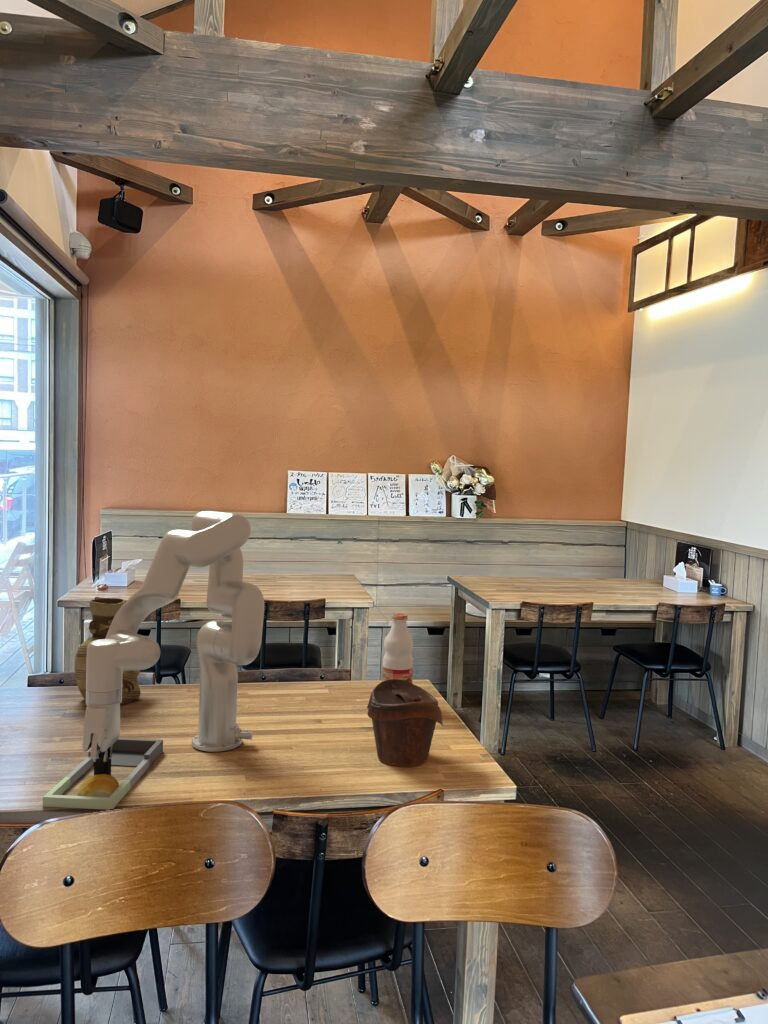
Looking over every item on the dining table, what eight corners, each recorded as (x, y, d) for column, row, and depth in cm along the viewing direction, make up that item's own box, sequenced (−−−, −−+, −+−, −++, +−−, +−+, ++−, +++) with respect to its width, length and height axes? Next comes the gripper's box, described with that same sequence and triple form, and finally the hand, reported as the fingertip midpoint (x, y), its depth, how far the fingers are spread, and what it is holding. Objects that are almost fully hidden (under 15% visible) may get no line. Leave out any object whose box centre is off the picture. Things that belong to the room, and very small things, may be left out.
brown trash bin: (423, 779, 171) (426, 702, 171) (350, 760, 181) (353, 688, 180) (454, 756, 187) (457, 686, 186) (385, 740, 196) (388, 674, 196)
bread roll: (118, 785, 163) (119, 767, 163) (118, 802, 154) (118, 783, 154) (78, 788, 160) (79, 770, 160) (75, 806, 152) (76, 787, 152)
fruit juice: (391, 698, 233) (394, 610, 232) (416, 703, 229) (420, 614, 227) (375, 705, 225) (378, 615, 224) (401, 711, 221) (405, 619, 219)
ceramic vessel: (154, 704, 219) (156, 604, 217) (77, 712, 208) (79, 608, 207) (141, 687, 235) (143, 594, 234) (70, 694, 225) (72, 597, 224)
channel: (162, 751, 182) (163, 739, 182) (112, 809, 150) (112, 795, 150) (105, 748, 182) (105, 737, 182) (42, 806, 151) (42, 792, 150)
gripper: (101, 685, 170) (99, 763, 171) (72, 705, 155) (70, 791, 156) (133, 687, 170) (131, 765, 170) (107, 707, 155) (105, 792, 155)
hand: (102, 777), depth 163 cm, fingers closed
